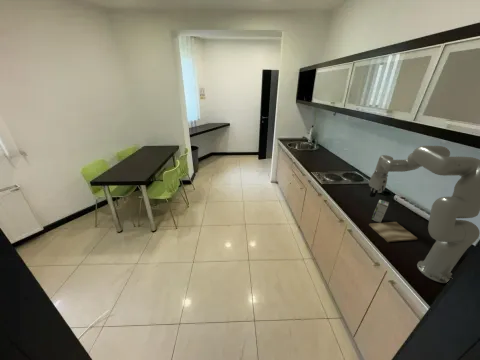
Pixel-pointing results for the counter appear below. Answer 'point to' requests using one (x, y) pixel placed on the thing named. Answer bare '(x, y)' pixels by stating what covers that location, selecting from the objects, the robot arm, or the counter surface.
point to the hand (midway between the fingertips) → (372, 196)
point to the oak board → (392, 231)
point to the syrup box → (380, 211)
